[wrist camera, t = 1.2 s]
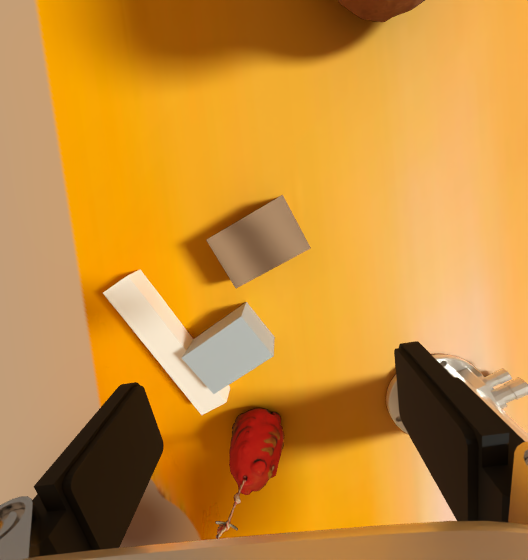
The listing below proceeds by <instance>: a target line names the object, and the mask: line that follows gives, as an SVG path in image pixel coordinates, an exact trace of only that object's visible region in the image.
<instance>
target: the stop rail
mask: <svg viewBox="0 0 528 560" xmlns="http://www.w3.org/2000/svg"><path fill="white" fill-rule="evenodd" d="M103 294H104V295H105V296H106V298H107V299H108V300H109V301H110V303H111V304H112V305H113V306H114V307H115V309H116V310H117V311H118V312H119V314H120V315H121V316H122V317H123V319H124V320H125V321H126V322H127V324H128V325H129V326H130V327H131V328H132V330H133V331H134V332H135V333H136V335H137V336H138V337H139V338H140V340H141V341H142V342H143V343H144V345H145V346H146V347H147V348H148V349H149V351H150V352H151V353H152V354H153V356H154V357H155V358H156V359H157V361H158V362H159V363H160V364H161V366H162V367H163V368H164V369H165V370H166V372H167V373H168V374H169V375H170V377H171V378H172V379H173V380H174V382H175V383H176V384H177V385H178V387H179V388H180V389H181V390H182V392H183V393H184V394H185V395H186V396H187V398H188V399H189V400H190V401H191V403H192V404H193V405H194V406H195V408H196V409H197V410H198V411H199V413H200V414H201V415H203V414H205V413H207V412H209V411H211V410H213V409H215V408H216V407H218V406H220V405H222V404H224V403H226V402H227V398H228V394H229V391H230V386H229V385H228V386H226V387H224V388H223V389H221V390H220V391H218V392H217V393H215V394H213V393H212V392H211V391H210V390H209V388H208V387H207V386H206V385H205V384H204V383H203V382H202V381H201V379H200V378H199V377H198V376H197V375H196V374H195V373H194V372H193V371H192V369H191V368H190V367H189V366H188V365H187V364H186V363H185V362H184V360H183V359H182V356H183V355H184V353H185V352H186V350H187V349H188V347H189V346H190V344H191V342H192V341H193V338H192V337H191V335H190V334H189V333H188V331H187V330H186V329H185V327H184V326H183V325H182V324H181V322H180V321H179V320H178V318H177V317H176V316H175V314H174V313H173V312H172V310H171V309H170V308H169V306H168V305H167V304H166V303H165V301H164V300H163V299H162V297H161V296H160V295H159V293H158V292H157V291H156V289H155V288H154V287H153V286H152V284H151V283H150V282H149V280H148V279H147V278H146V276H145V275H144V274H143V272H142V271H141V270H138V271H136V272H134V273H132V274H130V275H128V276H126V277H125V278H123V279H122V280H120V281H119V282H117V283H116V284H115V285H113V286H112V287H110V288H109V289H107V290H106V291H105V292H103Z"/></svg>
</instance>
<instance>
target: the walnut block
mask: <svg viewBox="0 0 528 560" xmlns="http://www.w3.org/2000/svg"><path fill="white" fill-rule="evenodd" d="M207 242H208V244H209V245H210V247H211V249H212V250H213V252H214V254H215V255H216V257H217V258H218V260H219V262H220V263H221V265H222V267H223V268H224V270H225V272H226V273H227V275H228V277H229V278H230V280H231V281H232V283H233V285H234V286H235V288H238V287H240V286H241V285H243V284H245V283H247V282H249V281H251V280H253V279H254V278H256V277H258V276H260V275H262V274H264V273H266V272H267V271H269V270H271V269H273V268H275V267H277V266H279V265H280V264H282V263H284V262H286V261H288V260H290V259H292V258H293V257H295V256H297V255H299V254H301V253H303V252H305V251H306V250H308V249H310V246H309V244H308V242H307V240H306V238H305V236H304V235H303V233H302V231H301V229H300V227H299V225H298V223H297V221H296V219H295V218H294V216H293V214H292V212H291V210H290V208H289V206H288V204H287V202H286V201H285V199H284V197H283V195H281V196H280V197H278V198H276V199H275V200H273V201H271V202H270V203H268V204H266V205H264V206H263V207H261V208H259V209H258V210H256V211H254V212H253V213H251V214H249V215H247V216H246V217H244V218H242V219H241V220H239V221H237V222H236V223H234V224H232V225H230V226H229V227H227V228H225V229H224V230H222V231H220V232H219V233H217V234H215V235H213V236H212V237H210V238H208V239H207Z"/></svg>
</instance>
